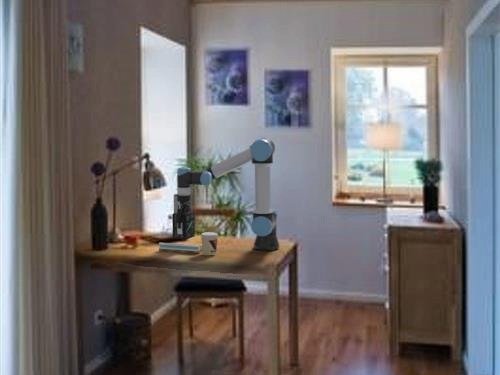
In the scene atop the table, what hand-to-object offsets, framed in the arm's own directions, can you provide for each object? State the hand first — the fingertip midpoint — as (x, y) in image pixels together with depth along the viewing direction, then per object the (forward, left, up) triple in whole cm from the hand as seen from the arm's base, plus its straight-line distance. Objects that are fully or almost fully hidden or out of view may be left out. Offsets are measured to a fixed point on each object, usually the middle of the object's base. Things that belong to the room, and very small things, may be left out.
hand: (183, 231), depth 383 cm
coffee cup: (-18, +8, -11) cm, 23 cm away
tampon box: (0, 0, -4) cm, 4 cm away
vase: (+13, -31, -11) cm, 35 cm away
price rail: (0, +8, -9) cm, 12 cm away
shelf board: (0, +1, -10) cm, 10 cm away
